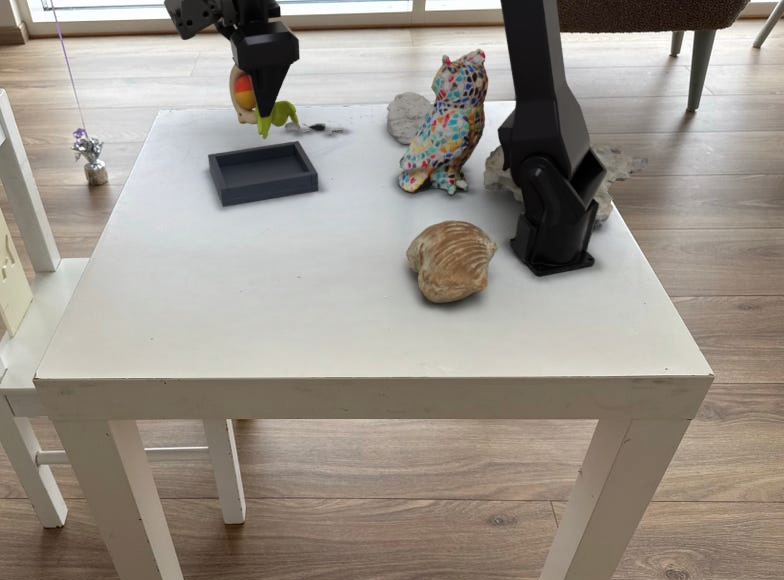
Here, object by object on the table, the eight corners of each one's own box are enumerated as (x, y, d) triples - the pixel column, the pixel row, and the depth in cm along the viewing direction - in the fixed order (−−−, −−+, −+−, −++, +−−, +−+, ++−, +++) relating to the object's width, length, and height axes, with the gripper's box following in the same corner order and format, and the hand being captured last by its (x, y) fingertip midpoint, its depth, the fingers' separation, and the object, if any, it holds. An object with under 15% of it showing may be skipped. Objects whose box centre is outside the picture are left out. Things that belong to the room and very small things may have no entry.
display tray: (299, 157, 94) (298, 140, 93) (318, 190, 88) (317, 173, 86) (210, 171, 92) (207, 154, 91) (222, 206, 86) (220, 189, 84)
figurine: (415, 157, 93) (423, 33, 83) (485, 169, 90) (502, 43, 80) (390, 188, 87) (396, 60, 77) (464, 203, 84) (480, 71, 74)
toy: (343, 132, 98) (345, 124, 99) (284, 125, 99) (286, 117, 100) (342, 141, 99) (344, 132, 100) (283, 134, 100) (286, 125, 101)
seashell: (475, 263, 77) (399, 263, 76) (489, 202, 72) (408, 201, 72) (499, 315, 69) (415, 316, 69) (515, 251, 65) (426, 250, 64)
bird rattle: (227, 150, 86) (274, 139, 79) (191, 52, 82) (237, 33, 75) (266, 132, 89) (314, 121, 83) (233, 38, 85) (281, 17, 78)
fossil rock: (463, 171, 87) (514, 247, 77) (478, 126, 83) (533, 199, 73) (612, 174, 92) (678, 246, 82) (632, 132, 88) (704, 201, 78)
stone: (413, 136, 92) (369, 92, 97) (407, 166, 96) (365, 122, 101) (475, 115, 95) (430, 73, 100) (466, 144, 99) (423, 103, 104)
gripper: (152, -64, 78) (175, 82, 89) (174, -17, 65) (199, 148, 75) (254, -75, 80) (265, 69, 91) (296, -32, 67) (304, 132, 77)
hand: (256, 102), depth 83 cm, fingers closed on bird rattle, 8 cm apart
